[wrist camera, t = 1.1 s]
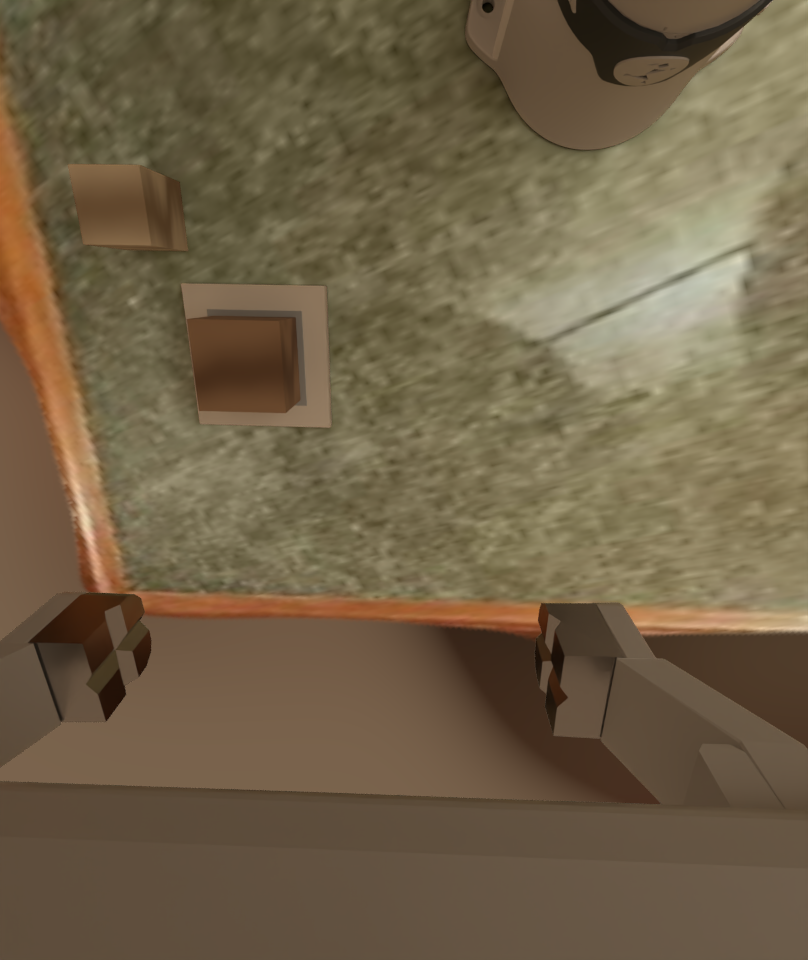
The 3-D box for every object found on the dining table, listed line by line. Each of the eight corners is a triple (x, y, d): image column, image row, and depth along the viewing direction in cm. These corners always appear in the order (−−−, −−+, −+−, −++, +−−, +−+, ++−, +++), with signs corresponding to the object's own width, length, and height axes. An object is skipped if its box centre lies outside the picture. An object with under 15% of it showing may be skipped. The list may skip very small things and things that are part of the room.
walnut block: (213, 315, 42) (186, 319, 37) (295, 317, 42) (279, 321, 37) (222, 398, 44) (199, 410, 40) (300, 399, 44) (285, 413, 40)
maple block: (118, 181, 40) (67, 164, 34) (179, 182, 40) (139, 164, 34) (129, 250, 42) (83, 244, 36) (188, 251, 41) (151, 245, 36)
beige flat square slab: (186, 283, 42) (179, 283, 41) (326, 285, 42) (324, 285, 41) (204, 421, 47) (198, 424, 45) (331, 424, 46) (329, 428, 45)
